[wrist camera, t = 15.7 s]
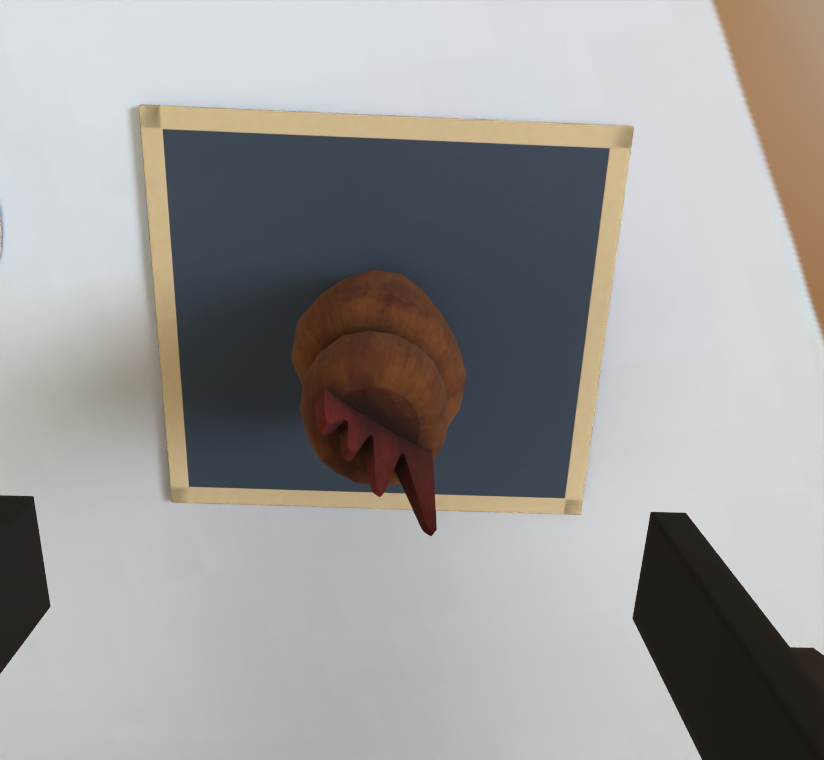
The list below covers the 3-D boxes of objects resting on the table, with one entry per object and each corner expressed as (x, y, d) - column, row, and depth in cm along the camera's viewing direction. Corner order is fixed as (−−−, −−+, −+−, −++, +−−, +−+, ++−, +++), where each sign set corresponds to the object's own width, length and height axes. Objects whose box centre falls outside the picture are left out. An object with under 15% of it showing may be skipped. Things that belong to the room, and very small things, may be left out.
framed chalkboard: (174, 498, 34) (171, 502, 34) (141, 104, 28) (137, 104, 28) (578, 510, 35) (580, 515, 34) (631, 126, 29) (634, 126, 28)
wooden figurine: (479, 355, 31) (540, 535, 17) (375, 422, 32) (352, 643, 18) (393, 230, 30) (384, 316, 15) (285, 305, 31) (183, 451, 16)
